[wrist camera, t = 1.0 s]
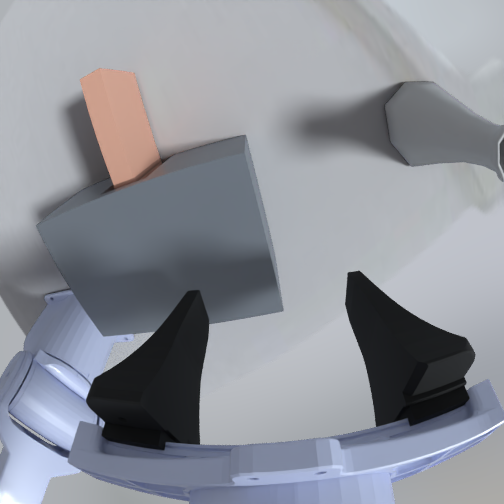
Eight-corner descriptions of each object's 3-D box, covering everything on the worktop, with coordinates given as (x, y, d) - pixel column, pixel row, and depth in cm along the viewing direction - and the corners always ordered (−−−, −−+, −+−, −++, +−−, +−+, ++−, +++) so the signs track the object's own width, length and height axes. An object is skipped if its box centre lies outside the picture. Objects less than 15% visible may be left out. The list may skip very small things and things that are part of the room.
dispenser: (128, 284, 25) (103, 336, 19) (82, 189, 20) (35, 225, 14) (275, 254, 23) (283, 311, 18) (245, 134, 18) (244, 152, 13)
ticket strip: (183, 265, 23) (169, 306, 19) (117, 80, 15) (79, 79, 11) (198, 262, 23) (188, 303, 19) (134, 72, 15) (99, 68, 11)
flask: (368, 99, 17) (454, 112, 8) (433, 68, 15) (526, 74, 6) (404, 179, 20) (482, 238, 11) (462, 144, 18) (544, 184, 9)
